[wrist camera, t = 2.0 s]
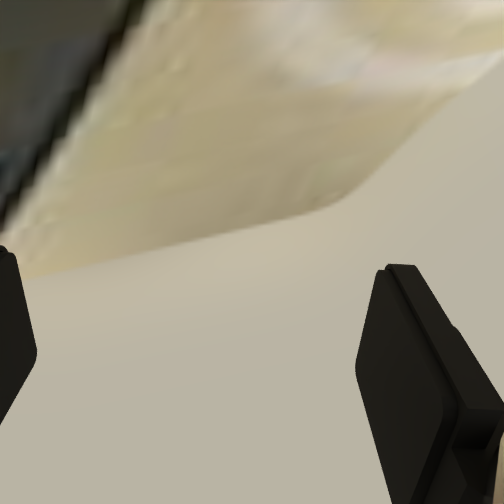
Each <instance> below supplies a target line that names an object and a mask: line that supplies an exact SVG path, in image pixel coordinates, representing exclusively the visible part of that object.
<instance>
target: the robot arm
mask: <svg viewBox="0 0 504 504" xmlns="http://www.w3.org/2000/svg"><path fill="white" fill-rule="evenodd" d="M36 357H37V347H36V343H35V339H34V334H33V330H32V326H31V321H30V317H29V312H28V308H27V303H26V299H25V295H24V290H23V286H22V281H21V277H20V273H19V268H18V264H17V260H16V257H15V255H14V254H13V253H10V252H8V251H7V249H6V248H5V247H4V246H2V245H0V424H1V423H2V421H3V419H4V417H5V416H6V414H7V412H8V410H9V409H10V407H11V405H12V403H13V401H14V399H15V398H16V396H17V394H18V393H19V391H20V389H21V387H22V386H23V384H24V382H25V380H26V379H27V377H28V375H29V373H30V372H31V370H32V368H33V366H34V364H35V361H36ZM355 372H356V378H357V382H358V385H359V389H360V392H361V396H362V399H363V403H364V406H365V410H366V414H367V417H368V421H369V424H370V428H371V431H372V434H373V438H374V441H375V445H376V449H377V452H378V456H379V459H380V463H381V467H382V470H383V473H384V477H385V480H386V484H387V488H388V491H389V495H390V498H391V502H392V504H504V402H503V401H502V399H501V397H500V396H499V394H498V393H497V391H496V390H495V388H494V386H493V385H492V383H491V381H490V380H489V378H488V377H487V375H486V373H485V372H484V371H483V369H482V367H481V365H480V364H479V362H478V361H477V359H476V357H475V356H474V354H473V353H472V351H471V349H470V348H469V346H468V345H467V343H466V341H465V340H464V338H463V337H462V335H461V333H460V332H459V331H458V330H457V328H455V327H454V326H453V325H452V324H451V322H450V321H449V319H448V317H447V316H446V314H445V312H444V311H443V309H442V308H441V306H440V304H439V303H438V301H437V299H436V298H435V296H434V294H433V293H432V291H431V290H430V288H429V286H428V285H427V283H426V281H425V280H424V278H423V277H422V275H421V273H420V272H419V270H418V268H417V267H416V266H415V265H404V264H388V265H387V266H386V267H385V270H378V272H377V273H376V276H375V281H374V285H373V290H372V294H371V298H370V302H369V307H368V311H367V315H366V319H365V324H364V328H363V332H362V337H361V341H360V345H359V349H358V354H357V358H356V364H355Z"/></svg>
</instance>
